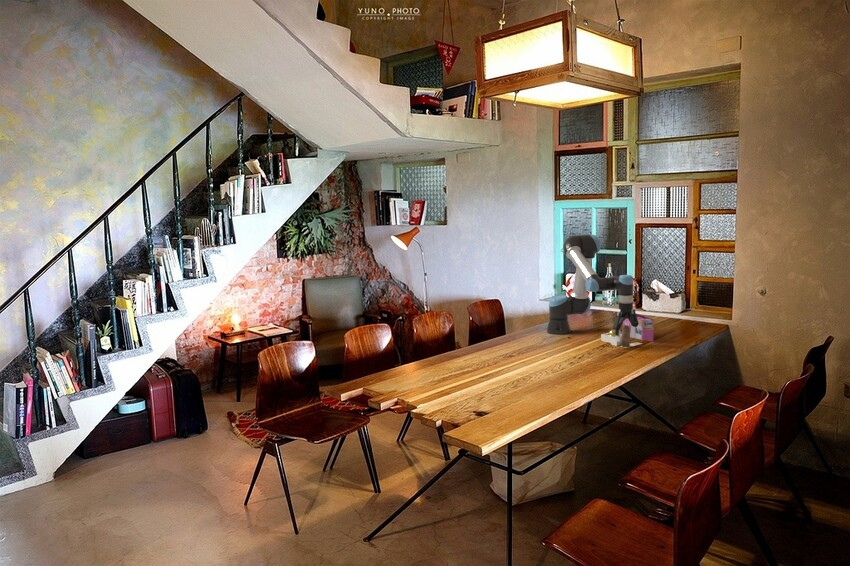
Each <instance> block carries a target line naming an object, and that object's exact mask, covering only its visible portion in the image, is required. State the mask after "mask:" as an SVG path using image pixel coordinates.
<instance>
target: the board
mask: <svg viewBox="0 0 850 566" xmlns="http://www.w3.org/2000/svg"><path fill="white" fill-rule="evenodd" d="M639 345H643V343H642V342H637V341H636V342H631V343H630V347H635V346H639ZM620 347H621V348H623V347H622V345H620ZM630 347H629V348H630ZM624 348H625V349H627V348H628V347H624Z"/></svg>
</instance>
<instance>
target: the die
mask: <svg viewBox="0 0 850 566" xmlns="http://www.w3.org/2000/svg"><path fill="white" fill-rule="evenodd" d="M610 344H611V345H612V346H615V347H618V346H619V347H620V346H622V342H621V338H620V342H619V341H616V337H615V338H611V343H610Z"/></svg>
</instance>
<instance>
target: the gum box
mask: <svg viewBox="0 0 850 566" xmlns="http://www.w3.org/2000/svg"><path fill="white" fill-rule="evenodd" d="M636 317H637V320H638V323H639V325H638V326H637V327H636V338H635V339H637V340H641V341H647V342H654V337H655V336H654V333H655V319H654V318H650V317H648V316H645V315H642V314H638V313H636ZM624 325H627V326H629V327H630V338H631V326H632V325H631V323H630V321H629V320H628V318H627V319H625V320H624V321H623V323H622V327H623V326H624Z"/></svg>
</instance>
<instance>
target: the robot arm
mask: <svg viewBox="0 0 850 566" xmlns="http://www.w3.org/2000/svg"><path fill="white" fill-rule="evenodd" d="M562 249H563V253H564V256H565V257H566V258H567V259H569V260H570V261H571V262H572V263H573V265H574V266H575V268H576V269H575V274H574V275H575V276H574V281H573V288H572V291H570V293H569V296H568V295H565V294H561V295H560V294H559V295H555V296H552V297H550V298H549V300H548V301H549V302H548V308H549V309H548V310H549V311H548V312H549V313H548V316H549V319H548V320H549V321H548V323H547V327H546V333H548V334H551V335H567V334H571V331H572V328H571V327H570V323H569V320H568V319H569V318H568V317H569V316H572V315H573V316H574V315H575V316H576V315H583V314H587V313H588V312H590V310H591V306H592V303H591V302H592V301H591V298H590V297H589V294H588V293H587V292H592V293H593V292H594V293H596V292H606V291H618V302H619V303H618V309H619V310H620V311H619V312H618V311H616V313H615V318H614V322H613V325H612V330H615V335H616V341H619V342H620V334H621V328H622V326H623V321H624V320H625V319H627V318H628V320H629V321H630V323H631V325H632V326H631V337H630V339H631V338H632V339H636V327H637V326H638V325H639V323H638V320H637V317H636V314H637V313H636V309H634V308H633V307H634V306H633V305H634V304H633V302H634V301H633V300H634V298H633V297H634V296H633V295H634V277H633V275H631V274H620V275H619V276H616V275H614V276H613V275H611V276H608V277H600V276H599V275H598V273H597V272H596V271H595V269H594V268H593V267H592V261H593V259H594V258H595V256H596V254H598V253H599V252H600V250H601V242H600V239H599V238H598V236H597V235H595V234H579V235H578V234H577V235H571V236H568V237H567V238H566V239H565V241H564V242H563V248H562Z"/></svg>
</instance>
